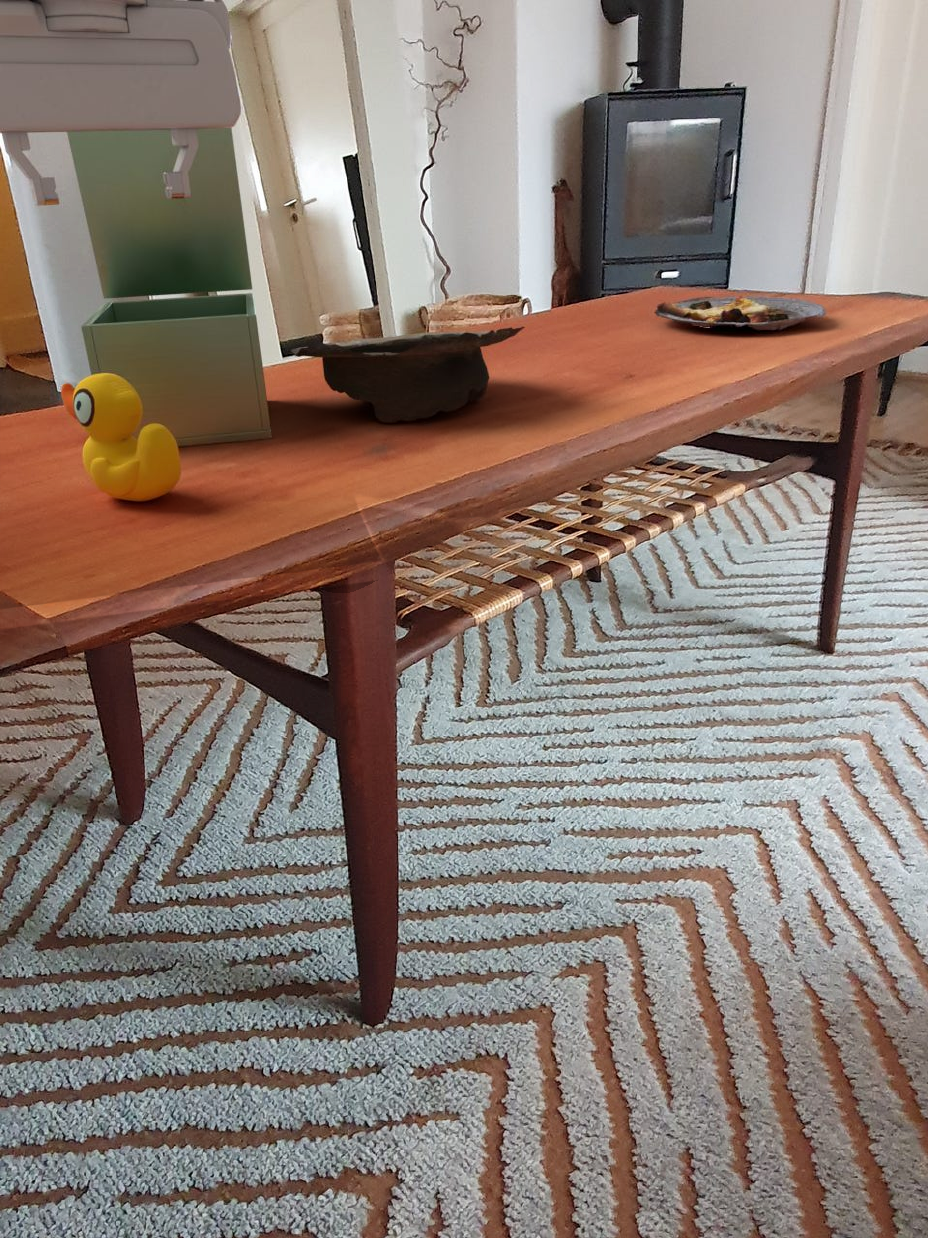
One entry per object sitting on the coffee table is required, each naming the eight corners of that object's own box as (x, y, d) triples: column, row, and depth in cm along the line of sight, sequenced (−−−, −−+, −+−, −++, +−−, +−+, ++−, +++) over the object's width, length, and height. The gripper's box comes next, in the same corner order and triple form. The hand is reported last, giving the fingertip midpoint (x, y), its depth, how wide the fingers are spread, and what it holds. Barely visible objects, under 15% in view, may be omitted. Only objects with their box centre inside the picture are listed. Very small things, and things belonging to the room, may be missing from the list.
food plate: (719, 342, 130) (721, 316, 128) (625, 322, 149) (626, 299, 147) (855, 324, 139) (858, 300, 137) (750, 307, 158) (752, 285, 156)
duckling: (58, 497, 78) (30, 376, 73) (110, 479, 82) (86, 363, 77) (154, 517, 72) (129, 387, 68) (204, 497, 76) (184, 373, 72)
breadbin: (271, 438, 92) (255, 314, 87) (107, 453, 90) (81, 325, 84) (266, 399, 108) (252, 292, 103) (126, 411, 105) (104, 302, 100)
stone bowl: (442, 441, 88) (430, 340, 84) (253, 431, 101) (235, 344, 97) (563, 384, 106) (558, 299, 102) (390, 383, 120) (379, 307, 116)
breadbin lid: (227, 98, 91) (227, 92, 95) (60, 102, 89) (66, 96, 92) (252, 289, 102) (250, 277, 106) (103, 298, 99) (107, 286, 103)
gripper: (212, -10, 70) (238, 194, 76) (-97, -24, 61) (-39, 208, 67) (238, -25, 65) (264, 194, 71) (-94, -43, 56) (-31, 210, 62)
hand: (115, 201), depth 69 cm, fingers open, 8 cm apart
